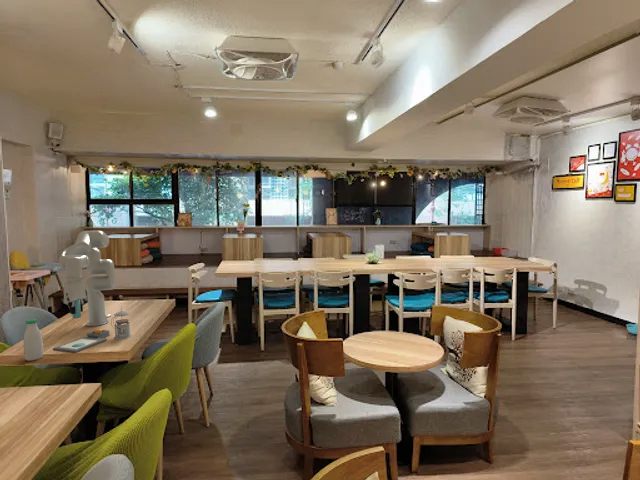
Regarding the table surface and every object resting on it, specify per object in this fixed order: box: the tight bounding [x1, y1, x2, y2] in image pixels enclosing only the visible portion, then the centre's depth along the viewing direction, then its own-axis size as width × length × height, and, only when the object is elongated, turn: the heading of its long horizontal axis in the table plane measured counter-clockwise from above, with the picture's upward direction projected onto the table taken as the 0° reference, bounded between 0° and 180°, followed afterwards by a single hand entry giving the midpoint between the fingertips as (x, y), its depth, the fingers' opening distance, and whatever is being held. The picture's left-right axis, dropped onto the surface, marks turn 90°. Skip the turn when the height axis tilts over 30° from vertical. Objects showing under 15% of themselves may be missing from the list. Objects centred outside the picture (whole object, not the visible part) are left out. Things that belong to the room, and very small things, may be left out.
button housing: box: [86, 329, 110, 339], centre depth 238 cm, size 8×8×3 cm
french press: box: [110, 294, 133, 341], centre depth 237 cm, size 10×12×25 cm
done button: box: [94, 328, 103, 334], centre depth 238 cm, size 4×4×3 cm
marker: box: [71, 299, 82, 319], centre depth 219 cm, size 4×4×12 cm
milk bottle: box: [23, 318, 44, 362], centre depth 205 cm, size 8×8×20 cm
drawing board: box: [52, 336, 107, 353], centre depth 225 cm, size 20×16×1 cm
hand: (76, 312), depth 220 cm, fingers closed on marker, 4 cm apart
